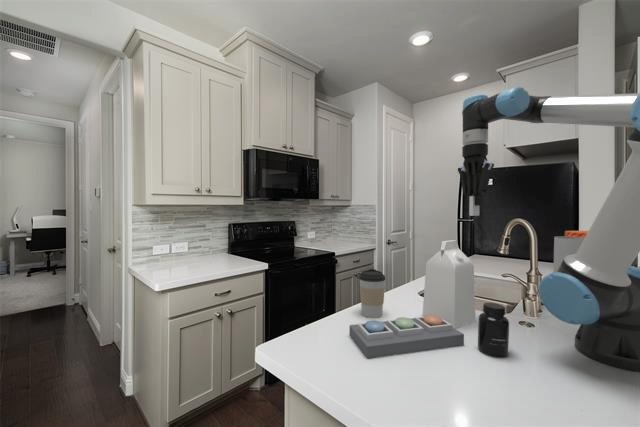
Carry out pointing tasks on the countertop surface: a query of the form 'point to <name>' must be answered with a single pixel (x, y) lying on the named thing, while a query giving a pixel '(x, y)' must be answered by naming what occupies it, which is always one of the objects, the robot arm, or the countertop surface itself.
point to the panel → (405, 338)
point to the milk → (450, 286)
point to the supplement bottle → (493, 330)
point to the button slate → (374, 326)
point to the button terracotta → (433, 320)
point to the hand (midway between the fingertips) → (474, 215)
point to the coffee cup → (372, 293)
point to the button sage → (404, 323)
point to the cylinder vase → (565, 248)
